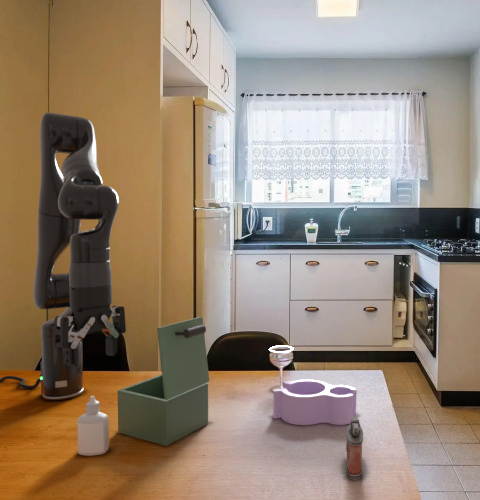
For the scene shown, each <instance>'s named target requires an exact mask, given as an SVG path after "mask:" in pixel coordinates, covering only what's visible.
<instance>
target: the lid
mask: <svg viewBox="0 0 480 500" xmlns="http://www.w3.org/2000/svg"><path fill="white" fill-rule="evenodd" d="M206 331H207V327H206V326H205V324H204V319H203V316H197V317H195V318H190V319H186V320H182V321H179V322H174V323H170V324H167V325H166V324H165V325H162V326H158V327H156V332H157V340H158V341H157V343H158V350H159V360H160V370H161V374H162V378H163V387H164V396H165V400H168V399H170V398H172V397H175V396H177V395H179V394H182V393H184V392H186V391H189V390H191V389H193V388H196V387H198V386H200V385H202V384H205V383H209V382H210V373H209V365H208V363H209V362H208V356H207V347H206V346H207V345H206V339H205V338H206V336H205V334H206Z"/></svg>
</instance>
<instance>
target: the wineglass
mask: <svg viewBox="0 0 480 500" xmlns="http://www.w3.org/2000/svg"><path fill="white" fill-rule="evenodd" d="M293 350H294V347H292V346H289V345H275V346H272V347H270V348H269V352H270V353H269V354H268V358H269V362H270V363H271V364H272V365H273V366H275V367H277V368H278V369H279V386H276V387H274V388H272V389H271V391H272V392H273V390H275V389H281V388H283V369H284V368H285V367H286V366H288V365H290V364H291V363H292V361H293V359H294V353H293Z"/></svg>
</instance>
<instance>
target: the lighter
mask: <svg viewBox="0 0 480 500" xmlns="http://www.w3.org/2000/svg"><path fill="white" fill-rule="evenodd" d="M345 434H346V435H345V437H346V440H345V442H346V443H345V451H346V459H345V473H346V476H347V478H348V479H350V480H355V481H356V480H359V479H361V478H362V475H363V461H362V460H363V459H362V458H363V442H364V430H363V427H362V426H361V423H360V419H359V418H358V416H355V417H352V419H351V423H350V424H348V425H347V428H346V433H345Z"/></svg>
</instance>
